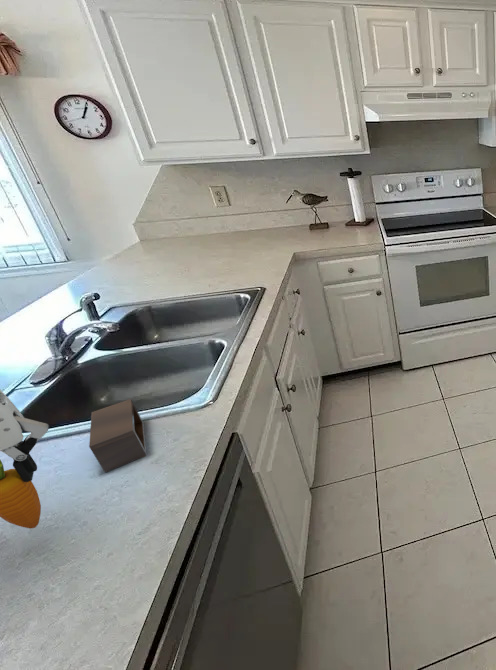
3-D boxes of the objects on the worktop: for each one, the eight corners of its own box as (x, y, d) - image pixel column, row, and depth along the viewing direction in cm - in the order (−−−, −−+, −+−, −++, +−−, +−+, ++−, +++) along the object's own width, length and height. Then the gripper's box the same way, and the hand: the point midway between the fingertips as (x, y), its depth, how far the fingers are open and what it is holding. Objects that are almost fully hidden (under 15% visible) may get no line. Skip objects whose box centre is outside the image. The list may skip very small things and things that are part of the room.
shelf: (146, 455, 86) (133, 430, 83) (105, 472, 82) (89, 446, 79) (143, 422, 94) (131, 398, 91) (105, 436, 91) (91, 412, 88)
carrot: (59, 523, 68) (13, 456, 61) (16, 547, 64) (-38, 479, 57) (51, 508, 70) (6, 442, 64) (9, 530, 66) (-44, 463, 60)
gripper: (28, 355, 63) (80, 444, 70) (-162, 404, 53) (-76, 501, 60) (21, 378, 57) (78, 471, 65) (-191, 437, 47) (-94, 538, 55)
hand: (3, 484), depth 63 cm, fingers closed on carrot, 4 cm apart
